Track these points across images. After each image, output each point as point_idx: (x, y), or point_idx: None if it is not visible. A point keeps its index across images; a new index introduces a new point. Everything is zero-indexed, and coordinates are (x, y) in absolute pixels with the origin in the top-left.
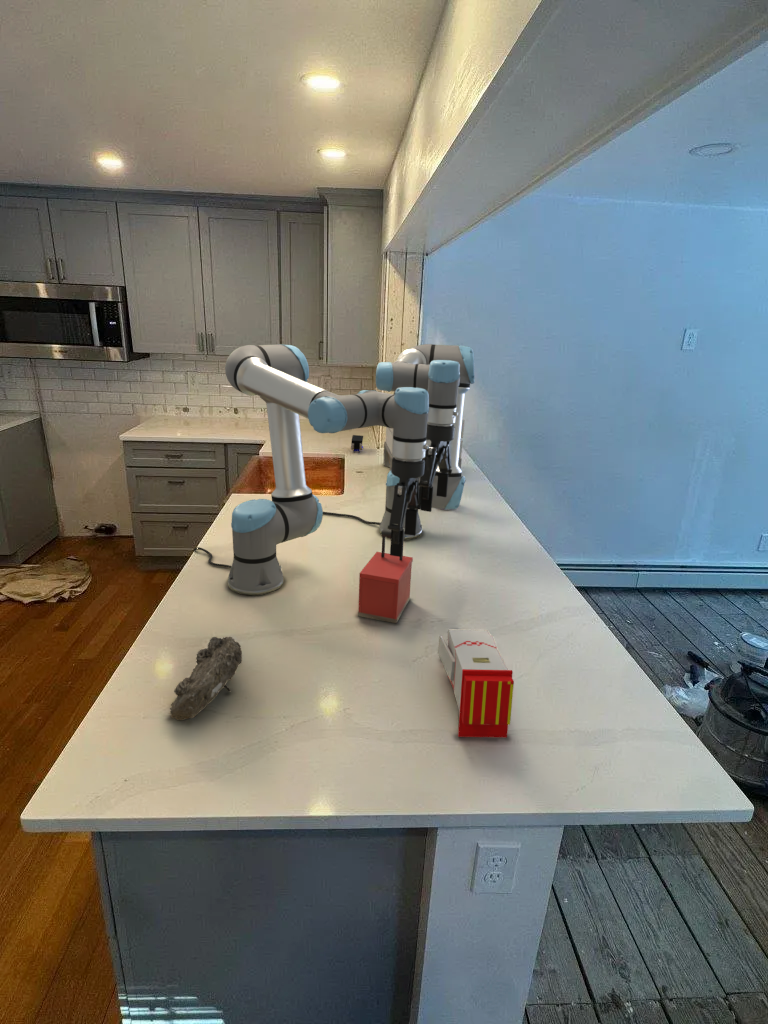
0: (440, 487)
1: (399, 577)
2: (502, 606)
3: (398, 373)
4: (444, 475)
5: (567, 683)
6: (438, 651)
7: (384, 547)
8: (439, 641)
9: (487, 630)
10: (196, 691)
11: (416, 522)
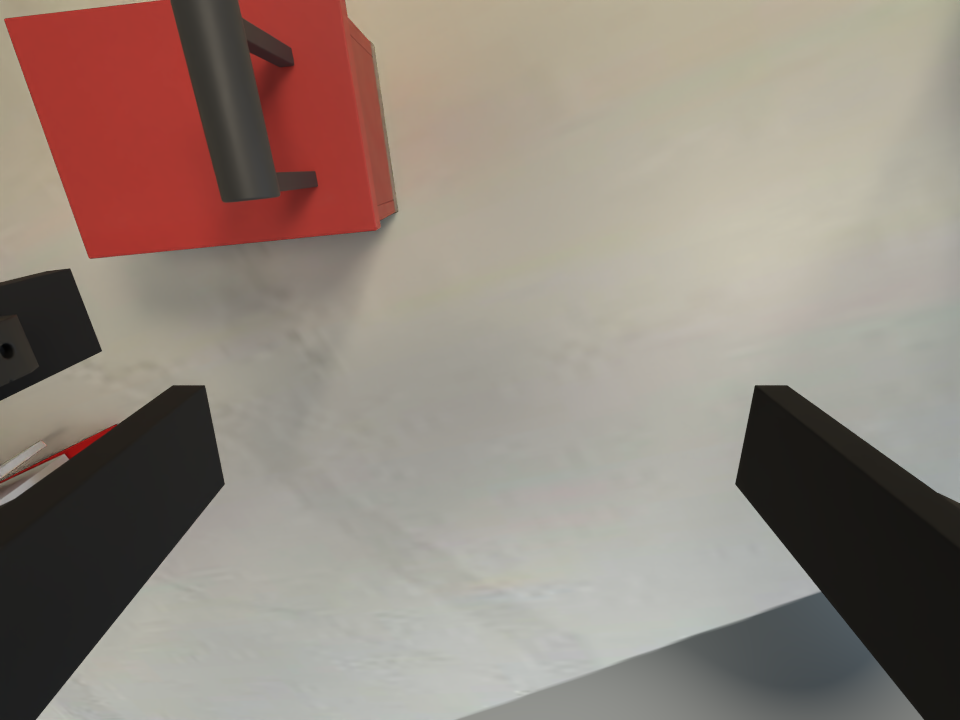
0: (812, 482)
1: (112, 253)
2: (503, 500)
3: None
4: (953, 683)
5: (222, 665)
6: (28, 448)
7: (258, 53)
8: (5, 464)
9: None
10: None
11: (15, 392)
